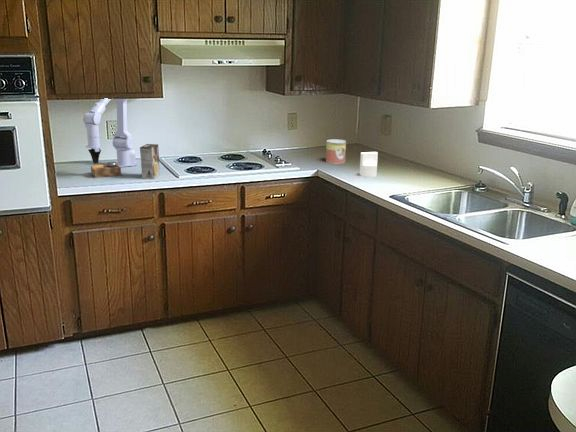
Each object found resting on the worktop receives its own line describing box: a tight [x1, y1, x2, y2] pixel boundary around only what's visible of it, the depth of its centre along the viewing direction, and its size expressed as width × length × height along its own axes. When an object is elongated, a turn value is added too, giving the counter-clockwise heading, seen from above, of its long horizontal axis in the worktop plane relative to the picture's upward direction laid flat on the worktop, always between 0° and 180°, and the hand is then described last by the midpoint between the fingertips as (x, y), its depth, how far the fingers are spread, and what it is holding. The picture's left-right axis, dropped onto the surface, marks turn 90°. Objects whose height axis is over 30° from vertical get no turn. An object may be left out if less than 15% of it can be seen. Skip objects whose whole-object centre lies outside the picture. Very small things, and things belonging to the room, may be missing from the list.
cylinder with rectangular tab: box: [359, 151, 379, 178], centre depth 313 cm, size 9×9×12 cm
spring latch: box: [91, 164, 104, 169], centre depth 304 cm, size 5×4×1 cm
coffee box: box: [139, 143, 161, 180], centre depth 301 cm, size 9×6×16 cm
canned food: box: [325, 138, 347, 165], centre depth 343 cm, size 11×11×12 cm
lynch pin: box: [106, 160, 117, 167], centre depth 307 cm, size 5×5×6 cm
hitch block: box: [90, 164, 122, 179], centre depth 306 cm, size 13×10×4 cm
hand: (95, 163), depth 303 cm, fingers closed
